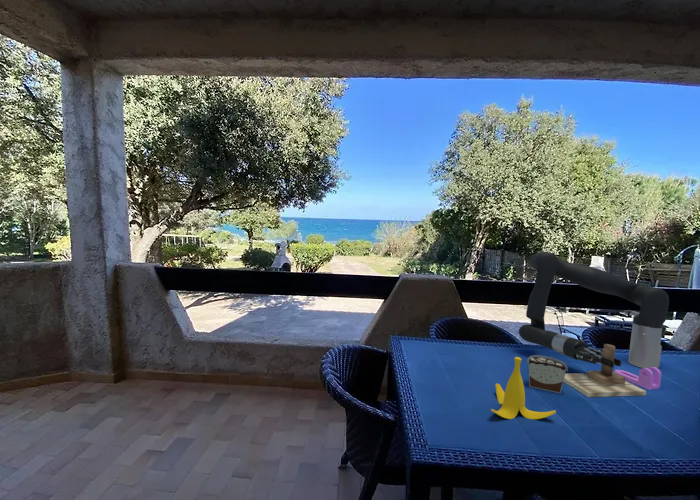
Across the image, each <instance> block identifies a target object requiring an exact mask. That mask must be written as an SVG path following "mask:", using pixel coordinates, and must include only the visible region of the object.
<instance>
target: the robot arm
mask: <svg viewBox="0 0 700 500" xmlns="http://www.w3.org/2000/svg"><path fill="white" fill-rule="evenodd" d="M529 261H530V265H531V267H532V268H533V270H535V271H536V278H535V279H536V280H535V282H534V286H533V289H532V291H531V293H530V295H529V297H528V302H527V307H526V312H525V313H526V314H525V316H526V318H527V319H530V324H523V325H521V326H520V327H519V329H518V334H519V337H520V338H521V339H522V340H524V341H525V342H528V343H531V344H535V345H538V346H543V347H545V348H547V349H550V350H553V351H555V352H557V353H559V354H561V355H564V356H565V357H569V358H571V359H574V360H577V361H583V362H586V363H591V364H594V365H596V364H598V365H602V364H603V365H606V366H609V367H611V368H613V369H614V368H615V366H617V367H621V366H622V360H621V359H619V358H616V357H614V361H611V360H609V359H606V358H603V349H601V348H600V347H599V348H598V347H597V349H595V348H593V347H590V346H589V347H587V345H586V343H585V342H584V341H583V340H582V339H577V338H574V337H572V336H568V335H567V334H561V333H558V332H555V331H552V330H546V325H545V314H546V309H547V304H548V298H549V295H550V292H551V291H550V290H551V287H552V284H553V282H554V278H555V276H556V277H558V278H562V279H563V280H566V281H568V282H571V283H573V284H575V285H576V286H577V285H578V286H580V287H583V288H586V289H588V290H591V291H594V292H598V293H601V294H606V295H611V296H616V297H618V298H619V297H620V298H621V299H625V300H627V301H629V302H632V303H633V304H635V305H637V306H640V307H639V314H636V315H634V316H633V318H632V325H631V335H630V344H629V352H628V361H627V362H628V363H629V364H630V365H632V366H635V367H638V368H640V369H643V368H650V367H656V368H658V369H659V368H660V365H661V356H662V349H663V345H661V340H662V334H663V333H662V331H663V325H664V324H665V322H666V321H667V316H668V311H669V306H670V297H669V295H668V293H667V292H666V291H665V290H663V289H661V288H659V287H654V286H651V285H646V284H641V283H636V282H632V281H629V280H625V279H622V278H620V277H619V276H616V275H615V274H613V273H610V272H607V271H605V270H604V269H603V270H602V269H599V268H596V267H594V266H589V265H585V264H580V263H574V262H569V261H566V260H562V259H560V258H559V257H558V256H557V255H556V254H554V253H552V252H549V251H540V252H536V253H534V254H533V255H532V256H531V258H530V260H529Z"/></svg>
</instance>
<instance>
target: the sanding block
mask: <svg viewBox="0 0 700 500" xmlns="http://www.w3.org/2000/svg"><path fill="white" fill-rule="evenodd" d="M602 350H603V358H606V359H609V360H611V361H614V358H615V355H616V353H615V352H616V346H615V345H613V344H609V343H603V349H602ZM587 373H588V377H587V378H588V379H590V380H592V381H593V382H595V383H597V384H599V385H601V386H625V381H626V380H625V377H623V376H621V375H619V374H617V373H615V371H614V367H613V368H611V367H609V366H606V365H603V364H601V367H600V370H588V371H587Z"/></svg>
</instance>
